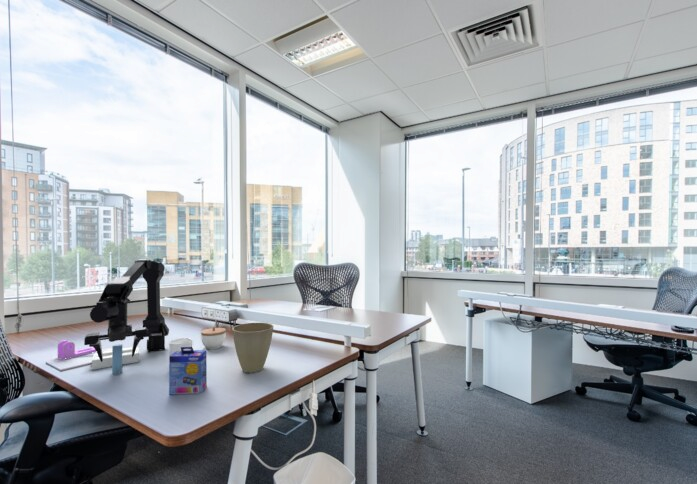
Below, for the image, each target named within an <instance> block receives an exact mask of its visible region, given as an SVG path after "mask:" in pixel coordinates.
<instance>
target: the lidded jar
mask: <svg viewBox="0 0 697 484" xmlns="http://www.w3.org/2000/svg"><path fill="white" fill-rule="evenodd" d="M200 334H201V338H200V339H201V343H202V345H203V346H204V347H205V348H206V350H217V349H220V348H221V347H222V346H223V345H224V343H225V341H226V338H227V337H226V336H227V328H224V327H216V326H212V327H211V328H206V329H203V330H201V332H200Z"/></svg>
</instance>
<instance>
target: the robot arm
mask: <svg viewBox="0 0 697 484" xmlns="http://www.w3.org/2000/svg"><path fill="white" fill-rule="evenodd" d="M165 269H166V267H165V264H163V263H162V262H161V261H154V260H153V261H152V260H150V259H148V258H147V259H146V258H145V259H137V260H135V261H134V262H133V264H132V265H131V266H130V267H129V269H128V270H126V272H125V273H123V274H122V275H121V277H119V278H116V279H113V280H111V281H109V282H108V283H107V284H106V285H105V287H104V289H103V291H102V293H101V295H100V297H99V300H98V302H96V304H95V305H96V306H94V307H93V308H92V309H91V310H90V313H89V317H90V319H91V321H92V322H95V323H98V324H99V323H100V324H101V323H103V322H107V321H108V323H107V325H108V326H107V333H106V334H100V332H93V333H92V332H91V333H87V334H86V335H85V336H84V341H83V342H84V343H83V344H84V346H88V348H90V347H94V348H95V350H96V351H97V352H96V353H98V356H99V358H100V360H101V362H102V361H103V355H102V352H103V348H102V341H106V340H108V342H110V343H113V342H114V343H115V342H116V341H125V340H126V338H128V337H133V343H132V347H133V348H132V357H133V356H134V353H135V350H136V348H137V346H139V343H140V342H141V340H144V338H147V339H146V350H147V352H148V353H152V352H158V351H163V350H164V351H165V350H166V346H165V345H166V344H165V343H166V341H165V340H166V338H165V337H167V336H169V333H170V329H169V327H168V326H167V324H166V321H165V319H166V318H165V317H164V316H163V315H162V313H161V286H160V285H161V284H160V283H161V280H162V278H163V277H164V275H165ZM141 276H142V278H143V279H144V281H145V282H146V299H147V300H146V303H147V315H146V316H145V318H144V319H143V320H142V326H141V327H135V328H134V329H135V330H133V324H128V303H130V302H131V299H130V298H129V296H130V295H131V293H132V292H133V291H134V288H133V285H135V283H136V282H137V280H138V279H140V278H141Z"/></svg>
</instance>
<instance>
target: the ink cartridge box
mask: <svg viewBox="0 0 697 484" xmlns="http://www.w3.org/2000/svg"><path fill="white" fill-rule="evenodd" d="M183 349H191V350H183ZM168 357H169V358H168V361H169V362H168V363H169V364H168V368H169V369H168V370H169V371H168V372H169V373H168V375H169V376H168V382H169V383H168V395H199V394H202V393H203V391H204V390H206V388H207V386H208V385H207V382H208V381H207V377H208V376H207V374H208V373H207V370H208V369H207V367H208V366H207V365H208V364H207V349H205V350H204V349H203V350H202V349H201V350H199V349H198V350H194V348H193V346H192V347H181V351H176V352H174V353H173V354H172V355H170V354H169V356H168Z"/></svg>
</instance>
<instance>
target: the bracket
mask: <svg viewBox="0 0 697 484" xmlns="http://www.w3.org/2000/svg"><path fill="white" fill-rule="evenodd" d="M75 348H76V344H75V343H74V342H72V341H69V340H65V339H63V340H61V341H60V342H59V341H58V344H57V359H59V358H61V359H60V360H62V359H65V358H70V357H74V358H76V357H75V356H78V357H80V356H79V355H82V356H84V355H83V354H86V355H88V354H87V353H90V354H93V353H92V352H94V353H97V352H96V350H95V348H94V347H86V348H81V349H76V350H75ZM70 359H71V358H70ZM65 360H66V359H65Z"/></svg>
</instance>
